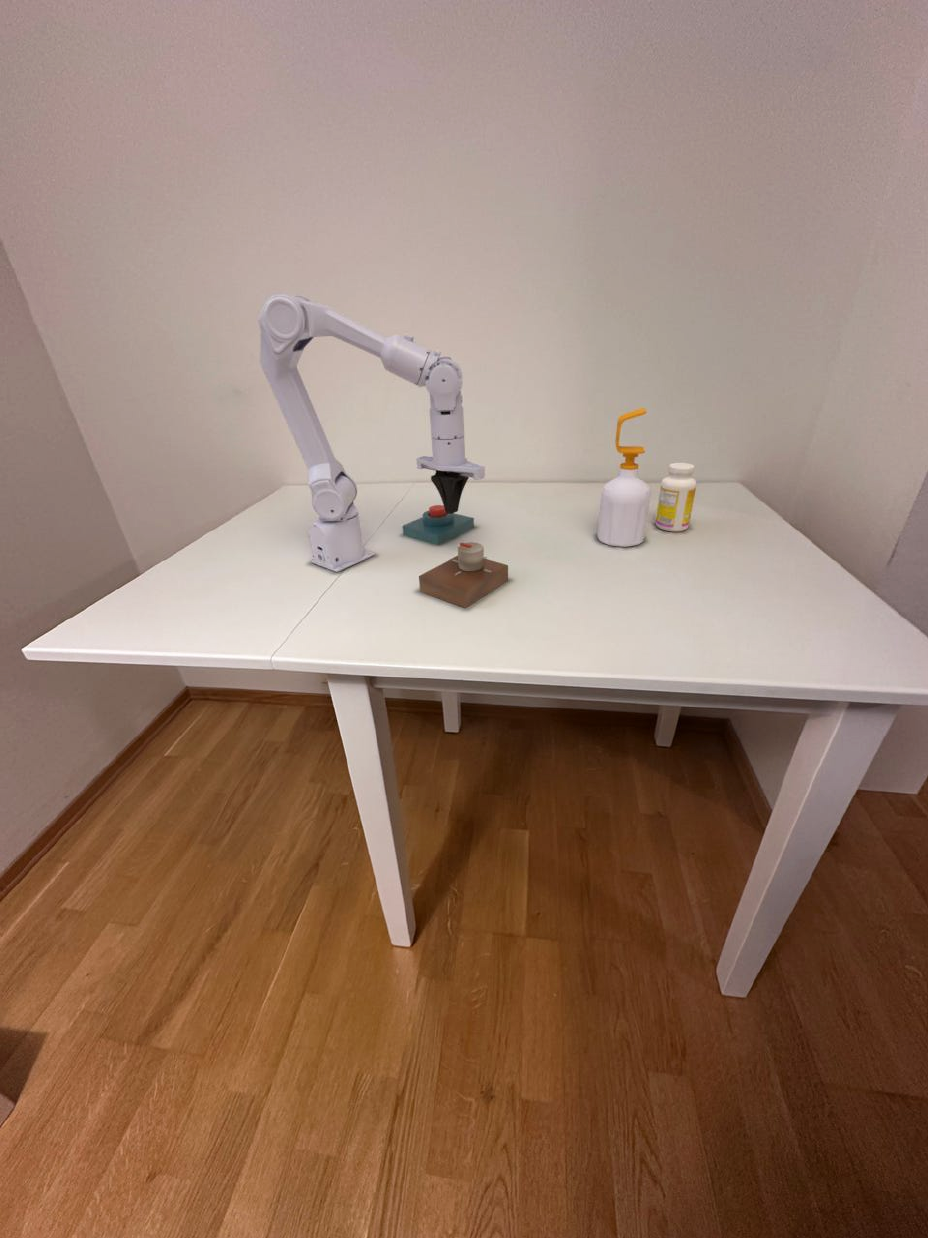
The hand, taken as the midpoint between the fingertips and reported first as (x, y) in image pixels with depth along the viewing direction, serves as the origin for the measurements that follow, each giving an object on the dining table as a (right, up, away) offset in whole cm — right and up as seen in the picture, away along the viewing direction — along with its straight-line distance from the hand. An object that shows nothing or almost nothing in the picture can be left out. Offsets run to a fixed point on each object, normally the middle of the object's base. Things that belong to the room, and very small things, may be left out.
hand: (451, 511), depth 95 cm
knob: (+4, -11, -7) cm, 14 cm away
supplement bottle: (+46, -1, +12) cm, 48 cm away
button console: (-3, -1, +16) cm, 16 cm away
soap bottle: (+34, -4, +8) cm, 35 cm away
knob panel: (+2, -14, -7) cm, 16 cm away
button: (-3, +2, +14) cm, 15 cm away
